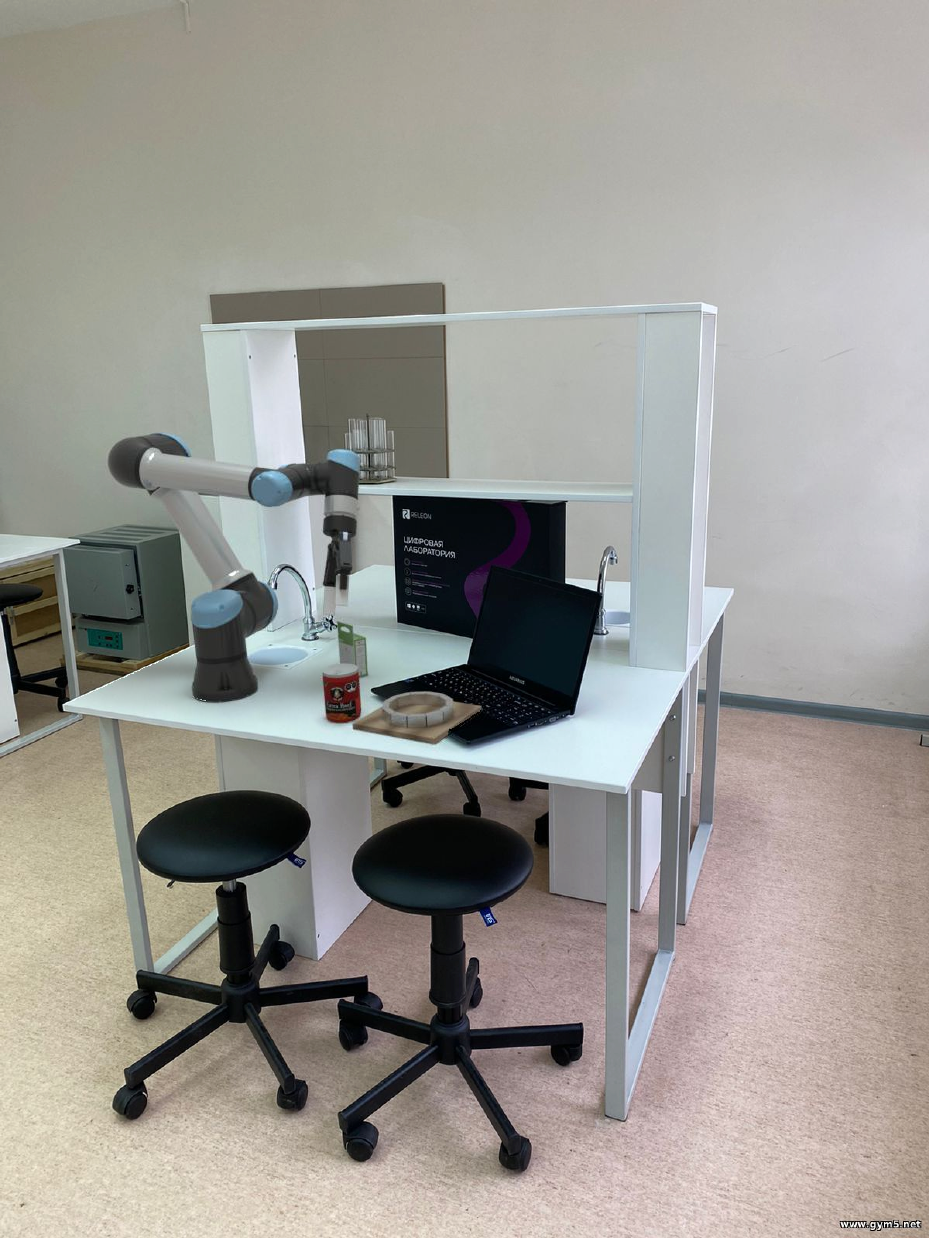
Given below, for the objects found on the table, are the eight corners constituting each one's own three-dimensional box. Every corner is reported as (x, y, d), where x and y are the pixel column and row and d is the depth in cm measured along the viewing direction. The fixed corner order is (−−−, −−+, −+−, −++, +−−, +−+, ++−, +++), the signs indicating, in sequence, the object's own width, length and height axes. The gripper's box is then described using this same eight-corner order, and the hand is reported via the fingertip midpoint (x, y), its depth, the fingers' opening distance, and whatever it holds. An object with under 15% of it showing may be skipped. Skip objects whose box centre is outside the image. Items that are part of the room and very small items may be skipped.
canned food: (321, 723, 203) (317, 674, 200) (331, 709, 210) (328, 662, 208) (356, 723, 202) (353, 675, 199) (365, 710, 209) (362, 663, 206)
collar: (369, 721, 200) (368, 710, 199) (407, 698, 212) (406, 688, 212) (430, 732, 192) (429, 720, 192) (465, 708, 205) (465, 697, 204)
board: (352, 728, 199) (352, 723, 199) (404, 698, 216) (403, 693, 215) (434, 744, 190) (434, 738, 189) (481, 711, 206) (481, 706, 206)
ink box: (369, 675, 233) (365, 622, 229) (355, 679, 230) (351, 626, 227) (353, 669, 238) (349, 617, 234) (340, 672, 236) (336, 620, 232)
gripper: (369, 506, 204) (364, 602, 201) (345, 532, 227) (340, 619, 224) (335, 501, 202) (329, 599, 198) (314, 529, 225) (308, 617, 222)
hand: (334, 610), depth 211 cm, fingers open, 13 cm apart
